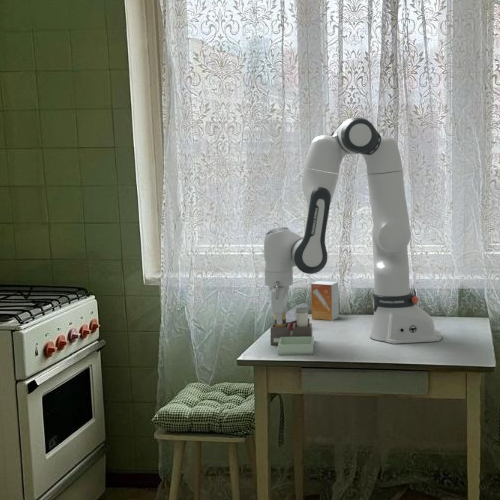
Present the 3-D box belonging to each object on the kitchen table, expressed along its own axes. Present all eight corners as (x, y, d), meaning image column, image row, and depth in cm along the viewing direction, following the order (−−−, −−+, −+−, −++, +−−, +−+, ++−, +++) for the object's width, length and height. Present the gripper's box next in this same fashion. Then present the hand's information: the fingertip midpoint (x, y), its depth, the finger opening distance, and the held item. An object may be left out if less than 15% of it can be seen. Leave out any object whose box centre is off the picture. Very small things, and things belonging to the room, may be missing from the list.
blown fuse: (286, 331, 266) (285, 307, 265) (286, 334, 263) (285, 309, 262) (275, 332, 267) (274, 307, 266) (274, 334, 263) (273, 309, 262)
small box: (311, 319, 298) (310, 283, 296) (318, 315, 304) (317, 280, 302) (332, 320, 294) (331, 284, 293) (339, 317, 300) (338, 281, 298)
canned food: (306, 343, 282) (306, 321, 276) (277, 339, 285) (276, 317, 279) (313, 322, 291) (313, 299, 285) (285, 318, 293) (284, 296, 288)
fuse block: (312, 340, 267) (312, 323, 266) (311, 344, 261) (311, 327, 260) (272, 340, 268) (271, 323, 268) (270, 344, 262) (270, 327, 262)
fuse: (308, 331, 265) (307, 307, 264) (308, 334, 262) (307, 309, 261) (297, 331, 266) (296, 307, 265) (296, 334, 262) (295, 309, 261)
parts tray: (314, 345, 259) (313, 336, 259) (312, 354, 249) (312, 344, 248) (280, 346, 260) (280, 336, 260) (278, 354, 250) (277, 344, 250)
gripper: (286, 284, 252) (288, 329, 254) (290, 273, 272) (292, 315, 274) (266, 285, 252) (267, 329, 254) (271, 274, 273) (272, 315, 274)
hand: (280, 322), depth 264 cm, fingers closed on blown fuse, 4 cm apart
